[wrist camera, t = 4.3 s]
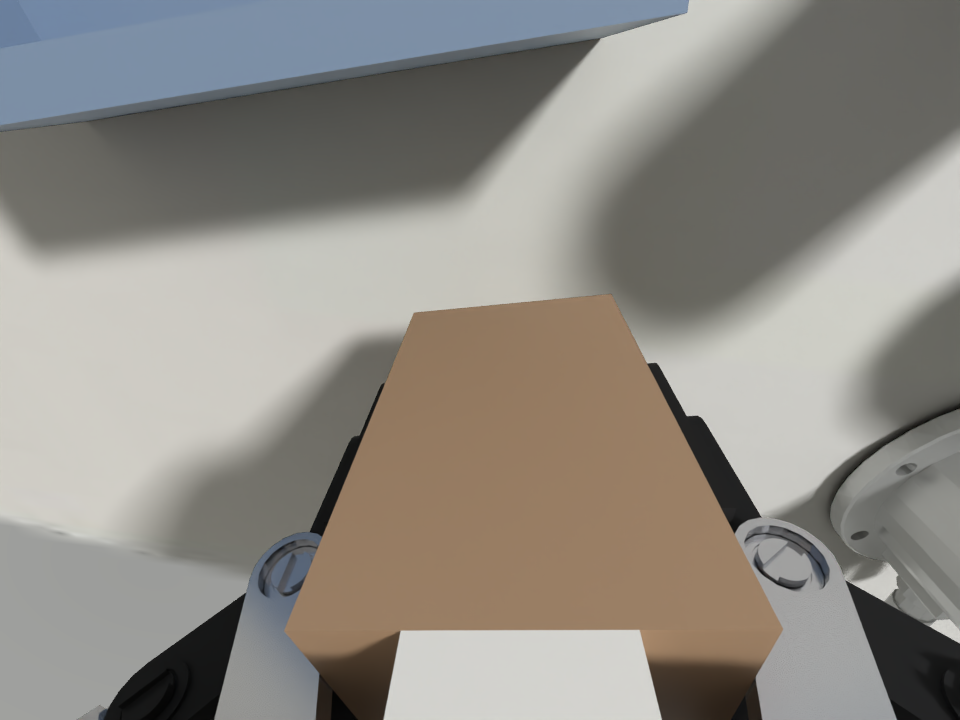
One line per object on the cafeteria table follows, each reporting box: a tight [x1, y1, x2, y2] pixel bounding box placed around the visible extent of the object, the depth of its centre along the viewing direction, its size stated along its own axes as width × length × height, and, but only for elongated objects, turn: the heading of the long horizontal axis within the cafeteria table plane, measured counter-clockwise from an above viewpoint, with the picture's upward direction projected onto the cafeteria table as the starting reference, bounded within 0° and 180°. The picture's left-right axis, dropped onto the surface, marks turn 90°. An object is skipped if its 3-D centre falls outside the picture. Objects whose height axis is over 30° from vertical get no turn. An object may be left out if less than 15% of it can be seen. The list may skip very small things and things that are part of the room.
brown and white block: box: [284, 294, 783, 720], centre depth 8 cm, size 5×5×9 cm
